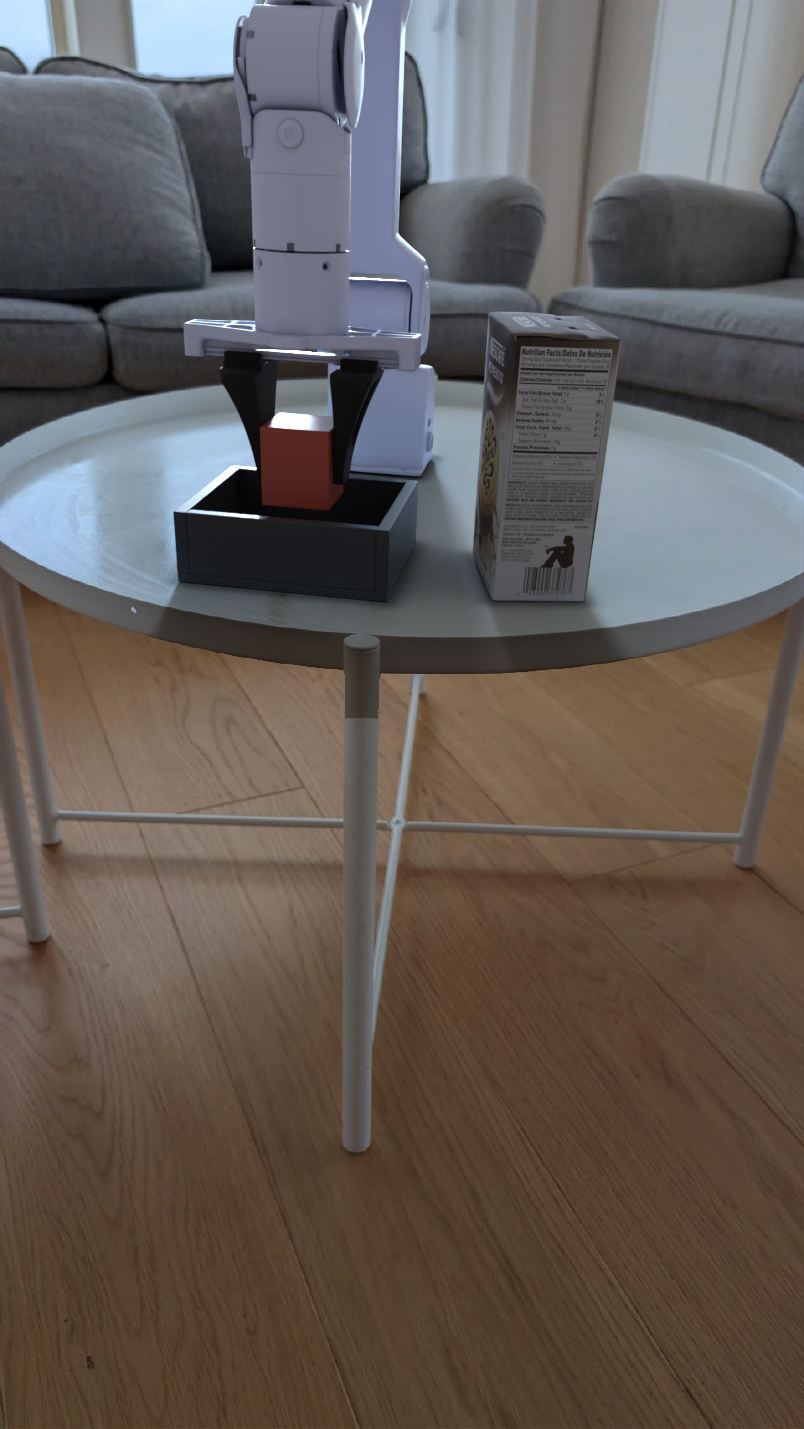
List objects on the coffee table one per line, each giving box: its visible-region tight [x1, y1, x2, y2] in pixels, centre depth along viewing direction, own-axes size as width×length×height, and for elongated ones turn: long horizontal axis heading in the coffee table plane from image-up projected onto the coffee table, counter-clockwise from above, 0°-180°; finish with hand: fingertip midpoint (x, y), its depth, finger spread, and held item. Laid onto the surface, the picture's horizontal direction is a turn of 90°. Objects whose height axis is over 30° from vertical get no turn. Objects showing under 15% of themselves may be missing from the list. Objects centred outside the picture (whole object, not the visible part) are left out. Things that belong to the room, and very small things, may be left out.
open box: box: [172, 464, 419, 603], centre depth 69 cm, size 14×12×5 cm
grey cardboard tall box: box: [472, 311, 623, 602], centre depth 65 cm, size 9×6×16 cm
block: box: [260, 412, 343, 511], centre depth 66 cm, size 4×4×5 cm
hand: (303, 477), depth 67 cm, fingers closed on block, 4 cm apart
